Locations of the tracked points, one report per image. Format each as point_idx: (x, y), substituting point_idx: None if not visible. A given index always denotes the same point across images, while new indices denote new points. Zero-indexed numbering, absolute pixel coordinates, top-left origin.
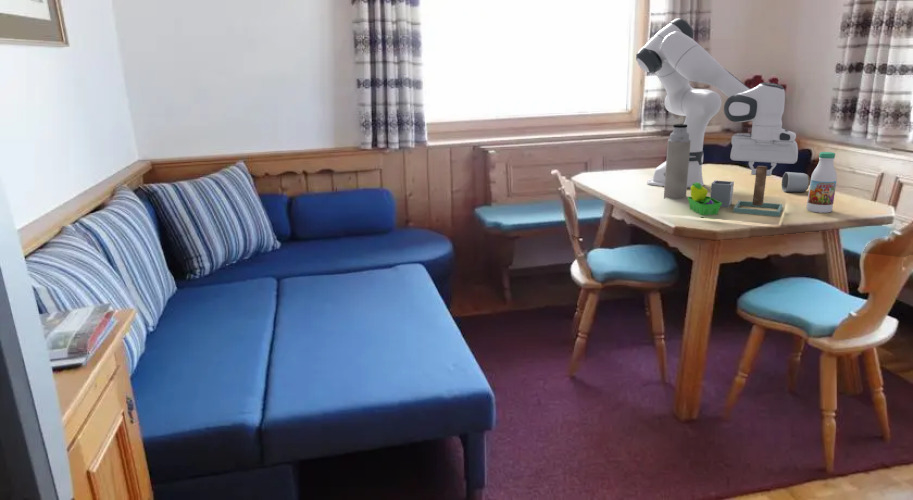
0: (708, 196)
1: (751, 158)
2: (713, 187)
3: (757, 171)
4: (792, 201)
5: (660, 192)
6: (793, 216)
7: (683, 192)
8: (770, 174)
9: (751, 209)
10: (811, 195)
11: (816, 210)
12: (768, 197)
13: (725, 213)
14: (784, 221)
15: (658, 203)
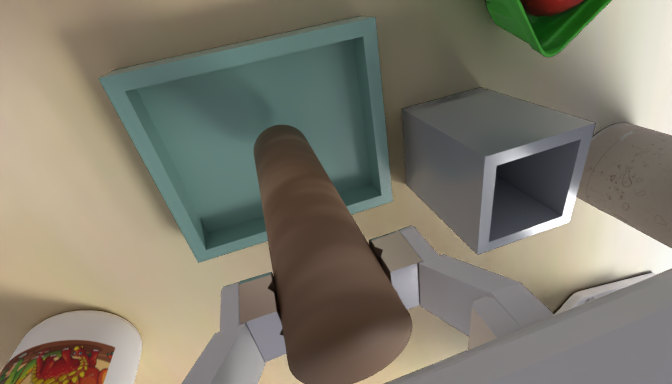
0: (544, 51)
1: (589, 360)
2: (561, 118)
3: (368, 258)
4: None
5: None
6: (99, 187)
7: (611, 166)
8: (225, 293)
9: (274, 40)
10: (79, 380)
11: (63, 317)
12: None
13: (400, 33)
14: (53, 37)
15: (668, 47)
